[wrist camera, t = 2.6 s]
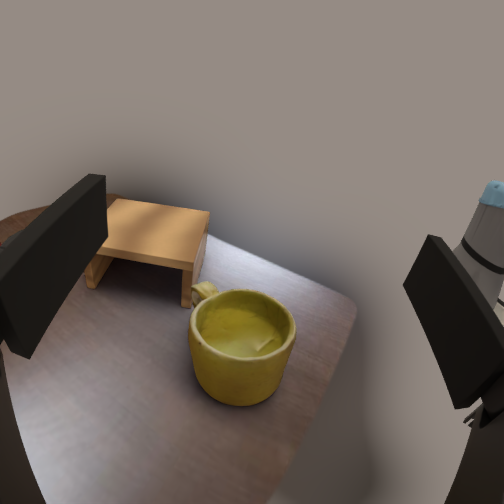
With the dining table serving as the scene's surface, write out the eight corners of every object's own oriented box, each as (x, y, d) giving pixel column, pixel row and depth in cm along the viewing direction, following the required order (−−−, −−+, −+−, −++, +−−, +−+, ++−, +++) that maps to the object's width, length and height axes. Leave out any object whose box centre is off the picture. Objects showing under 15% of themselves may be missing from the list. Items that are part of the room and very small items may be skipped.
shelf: (205, 253, 47) (210, 212, 43) (190, 308, 37) (193, 262, 33) (119, 238, 46) (117, 198, 42) (87, 287, 36) (79, 242, 32)
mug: (320, 384, 29) (314, 315, 23) (228, 435, 26) (192, 379, 21) (262, 318, 39) (245, 252, 33) (187, 355, 36) (155, 292, 30)
